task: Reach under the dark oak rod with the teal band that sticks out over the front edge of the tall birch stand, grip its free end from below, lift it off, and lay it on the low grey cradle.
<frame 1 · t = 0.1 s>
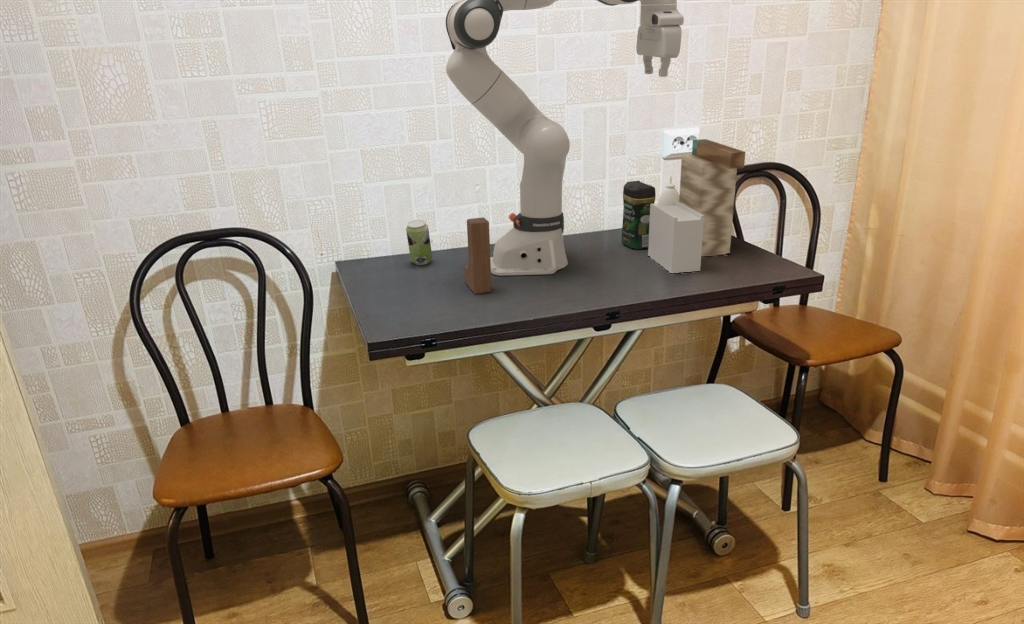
hand: (655, 75, 192), 48 cm above the table, tool pointing down, fingers open, 8 cm apart
beverage can: (420, 264, 207), on the table
banded rod: (716, 160, 199), point 26 cm above the table, touching tall stand
tall stand: (702, 249, 213), on the table
low cradle: (673, 263, 202), on the table
sauce bottle: (667, 235, 228), on the table
wooden block: (478, 288, 188), on the table
coffee jar: (637, 246, 218), on the table
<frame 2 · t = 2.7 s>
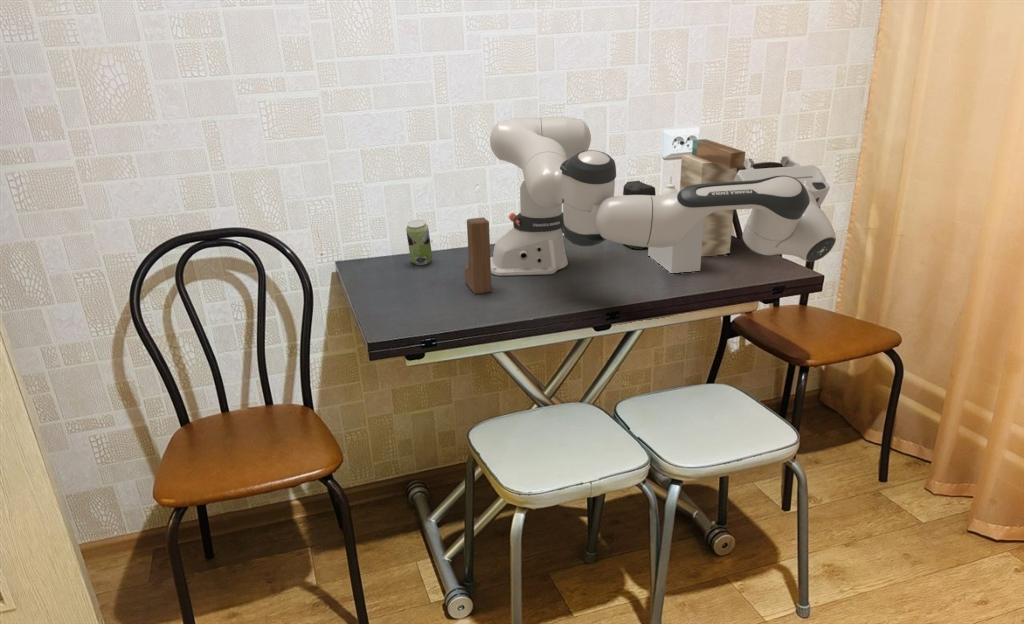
hand: (765, 159, 175), 30 cm above the table, tool pointing upward, fingers open, 8 cm apart
nothing on the table moved.
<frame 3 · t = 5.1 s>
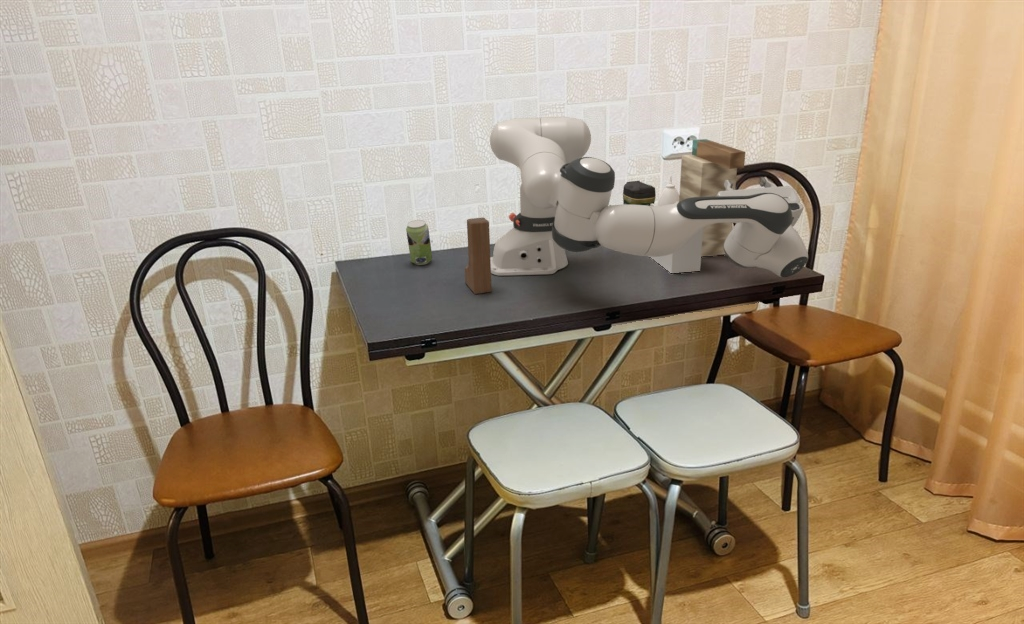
hand: (744, 180, 187), 24 cm above the table, tool pointing upward, fingers open, 8 cm apart
nothing on the table moved.
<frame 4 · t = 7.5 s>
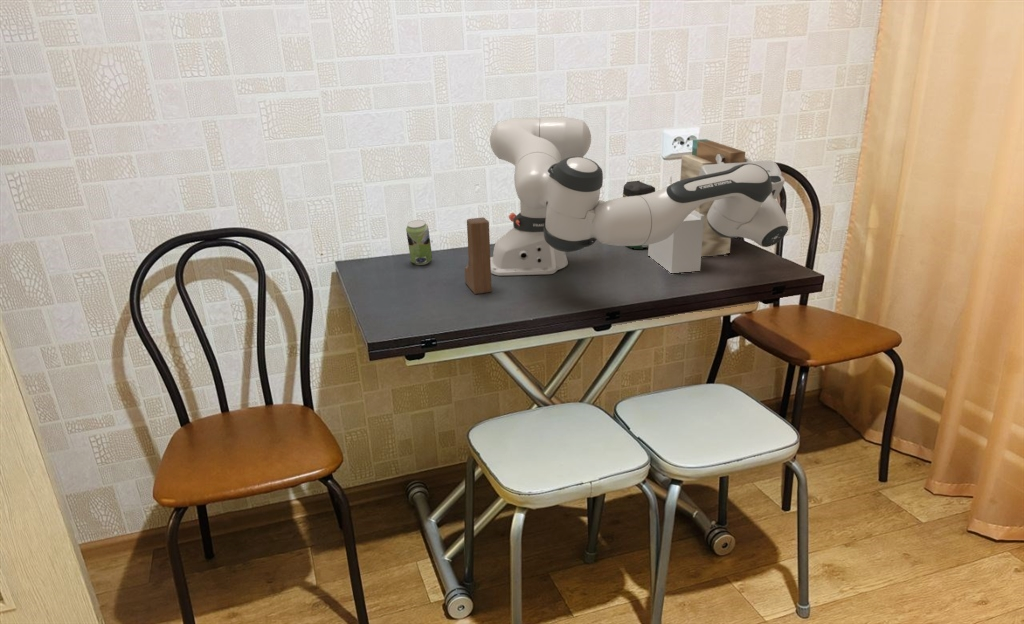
hand: (728, 155, 192), 28 cm above the table, tool pointing upward, fingers closed on banded rod, 4 cm apart
banded rod: (716, 160, 199), point 26 cm above the table, touching gripper, tall stand
everything else where it was.
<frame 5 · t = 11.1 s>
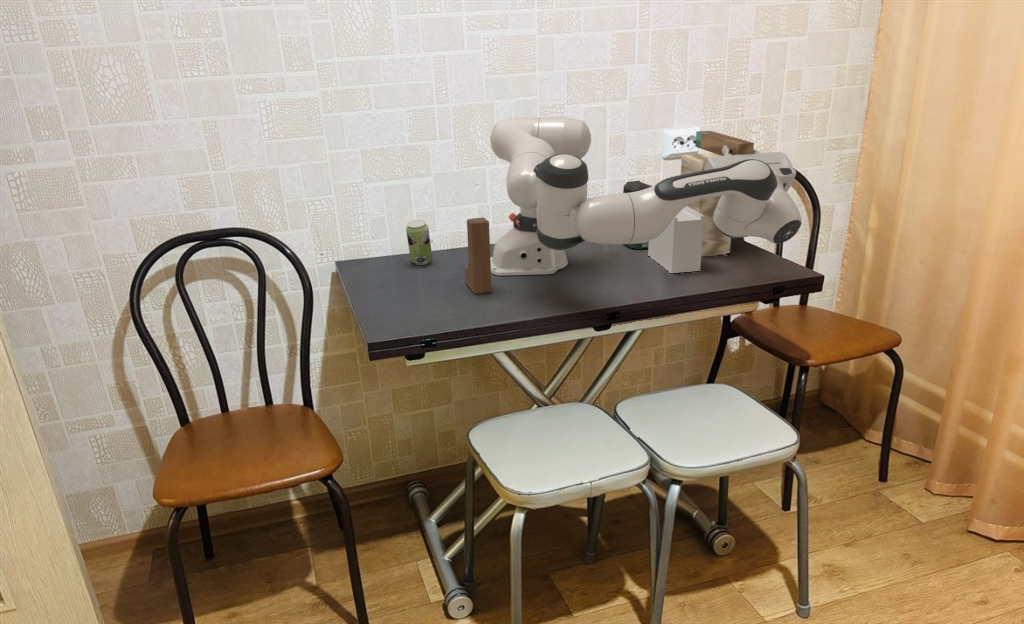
hand: (735, 146, 181), 32 cm above the table, tool pointing upward, fingers closed on banded rod, 4 cm apart
banded rod: (722, 153, 188), point 30 cm above the table, touching gripper
everything else where it was.
when the fingers open (18 cm above the table, at t = 15.0 s): banded rod drops 2 cm, resting on low cradle.
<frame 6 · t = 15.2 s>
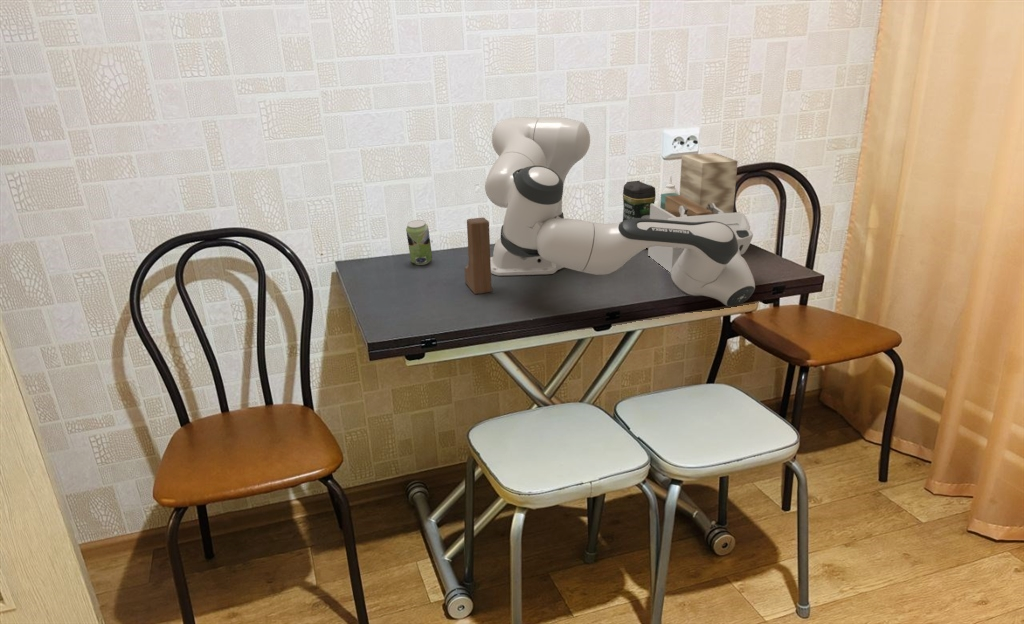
hand: (695, 206, 185), 18 cm above the table, tool pointing upward, fingers open, 6 cm apart
banded rod: (684, 217, 192), point 14 cm above the table, touching low cradle
everything else where it was.
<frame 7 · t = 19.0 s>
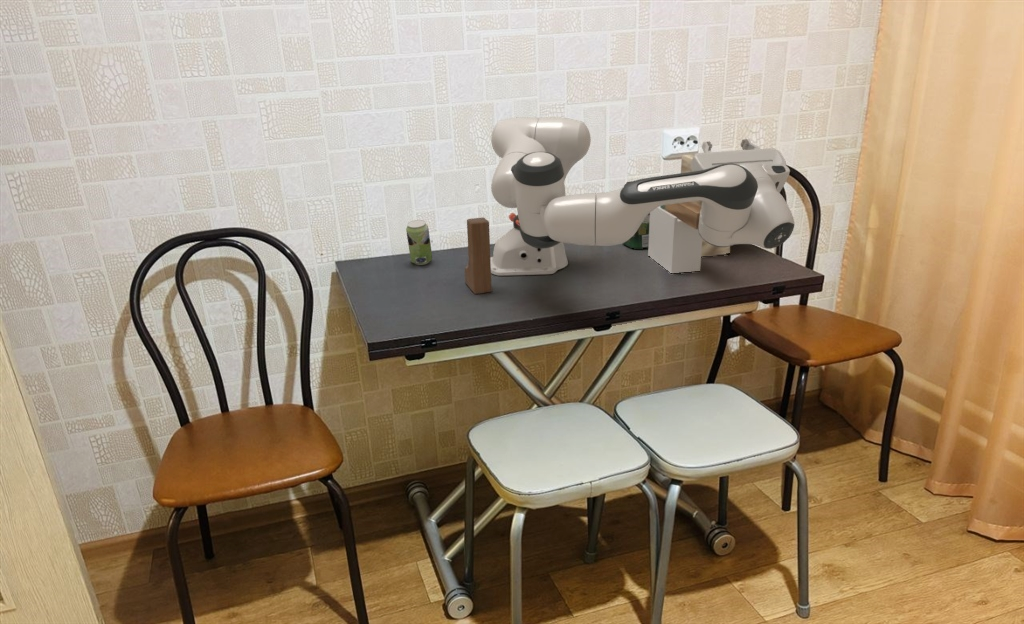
hand: (725, 142, 167), 36 cm above the table, tool pointing upward, fingers open, 8 cm apart
nothing on the table moved.
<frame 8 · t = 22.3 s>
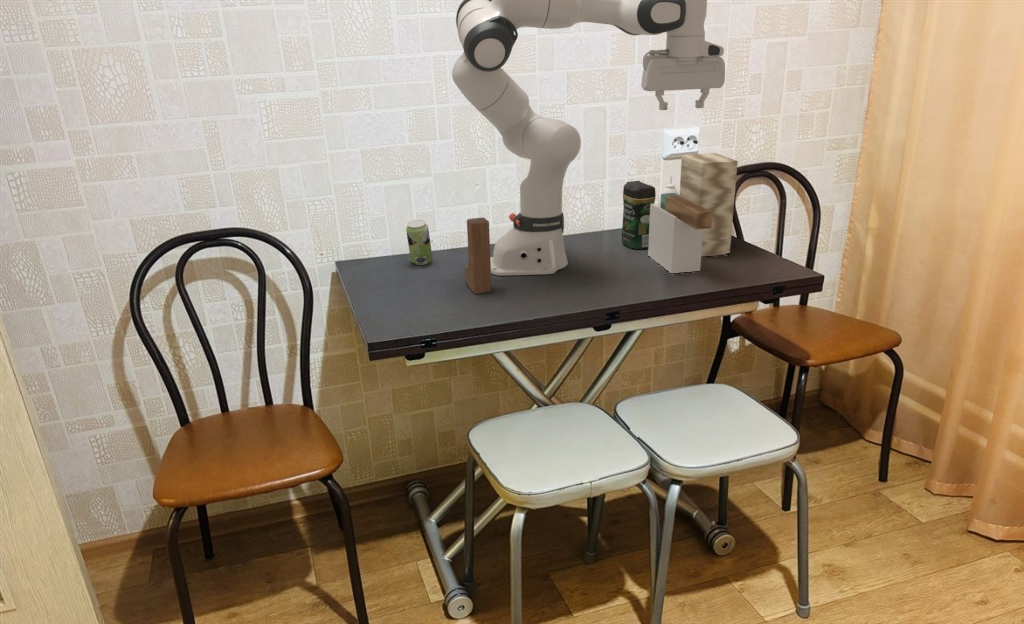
hand: (681, 108, 182), 41 cm above the table, tool pointing down, fingers open, 8 cm apart
nothing on the table moved.
at the end: banded rod 0.2 cm from the target spot on the low cradle, point 14.0 cm above the low cradle's base; banded rod tilted 0°; the gripper is holding nothing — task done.
